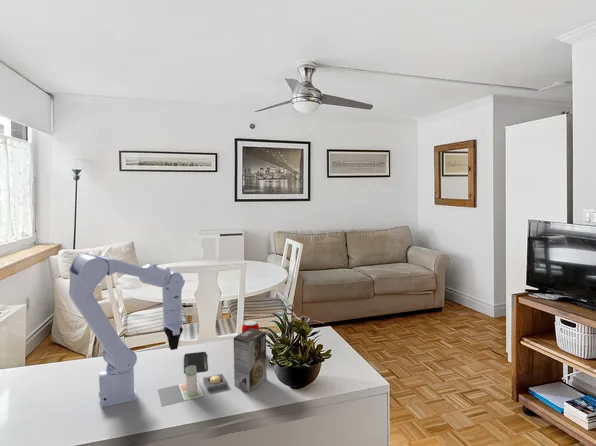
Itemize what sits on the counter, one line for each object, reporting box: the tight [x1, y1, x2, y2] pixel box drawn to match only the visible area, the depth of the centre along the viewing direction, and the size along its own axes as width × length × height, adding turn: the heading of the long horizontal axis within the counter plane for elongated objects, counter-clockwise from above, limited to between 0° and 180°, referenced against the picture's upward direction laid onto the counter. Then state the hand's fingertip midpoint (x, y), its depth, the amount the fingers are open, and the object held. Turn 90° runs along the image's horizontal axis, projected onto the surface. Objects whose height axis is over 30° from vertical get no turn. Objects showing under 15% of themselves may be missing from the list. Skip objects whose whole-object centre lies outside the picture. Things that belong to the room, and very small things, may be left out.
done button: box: [210, 375, 221, 385], centre depth 120 cm, size 3×3×2 cm
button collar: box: [203, 373, 228, 393], centre depth 120 cm, size 6×6×2 cm
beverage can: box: [241, 320, 260, 333], centre depth 143 cm, size 6×6×12 cm
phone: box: [183, 351, 209, 374], centre depth 135 cm, size 8×1×15 cm
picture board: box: [157, 380, 205, 407], centre depth 116 cm, size 12×10×1 cm
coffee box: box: [233, 328, 267, 393], centre depth 122 cm, size 9×6×16 cm
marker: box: [184, 365, 198, 397], centre depth 114 cm, size 3×3×8 cm
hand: (173, 348), depth 126 cm, fingers closed
